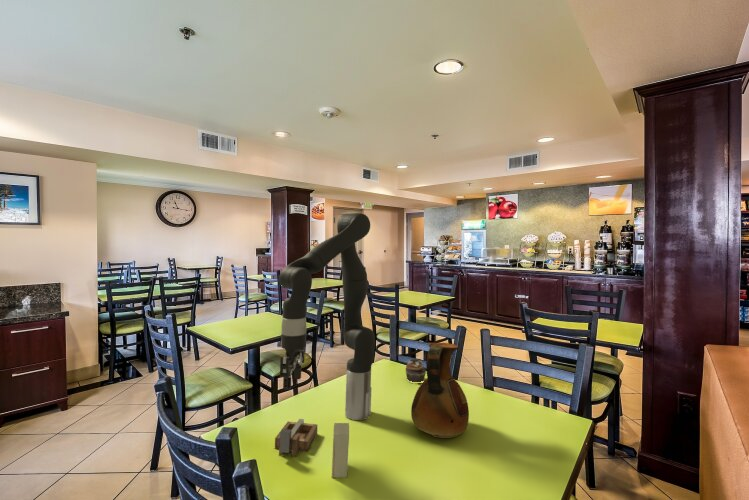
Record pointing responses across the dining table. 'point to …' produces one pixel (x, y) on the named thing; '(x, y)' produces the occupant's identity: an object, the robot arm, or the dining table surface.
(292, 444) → the dock
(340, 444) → the skincare box
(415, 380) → the cupcake
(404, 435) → the dining table surface
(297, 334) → the robot arm
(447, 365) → the ceramic pitcher
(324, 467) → the dining table surface
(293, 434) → the pin
